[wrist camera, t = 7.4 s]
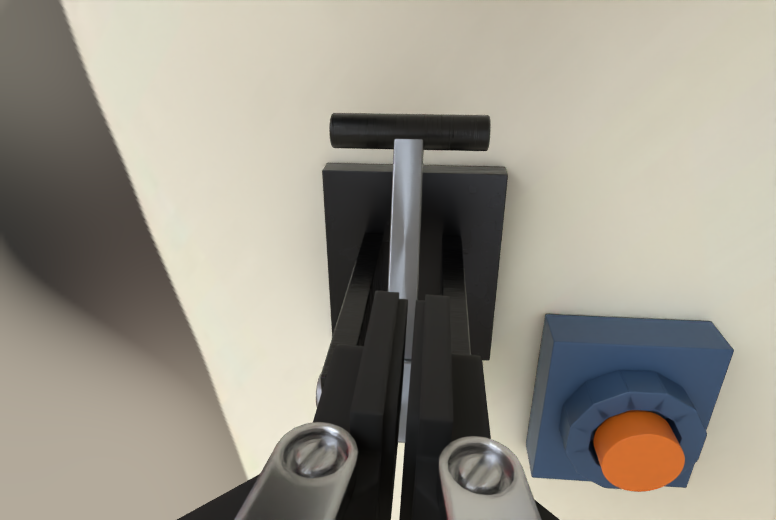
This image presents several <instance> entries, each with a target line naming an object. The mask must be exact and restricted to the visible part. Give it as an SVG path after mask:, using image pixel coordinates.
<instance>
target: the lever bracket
mask: <svg viewBox="0 0 776 520" xmlns="http://www.w3.org/2000/svg"><path fill="white" fill-rule="evenodd" d="M322 175H323V191H324V208H325V224H326V241H327V257H328V273H329V290H330V306H331V323H332V340H331V344H330V347H329V350H328V353H327V357H326V360H325V363H324V366H323V370H322V373H321V374H320V376H319V379H318V383H317V390H316V406H317V407H318V403H319V400H320V396H321V393H322V390H323V386H324V383H325V379H326V376H327V372H328V369H329V366H330V362H331V359H332V355H333V352H334V349H335V346H336V345H337V344H342V345H354V346H364V343H365V338H366V334H367V329H368V324H369V319H370V315H371V310H372V305H373V300H374V296H375V291H388V275H389V251H390V227H391V203H392V179H393V164H357V163H327V164H326V166H325V167H324V169H323V170H322ZM507 179H508V174H507V171H506V168H505V167H490V166H446V165H423V179H422V205H421V232H420V258H419V284H418V300H423V301H425V296H426V294H427V295H440V296H449V297H450V327H451V354H463V355H475V356H481V358H482V360H490V350H491V340H492V330H493V320H494V310H495V300H496V290H497V280H498V270H499V260H500V250H501V240H502V230H503V220H504V210H505V200H506V190H507Z"/></svg>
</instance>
